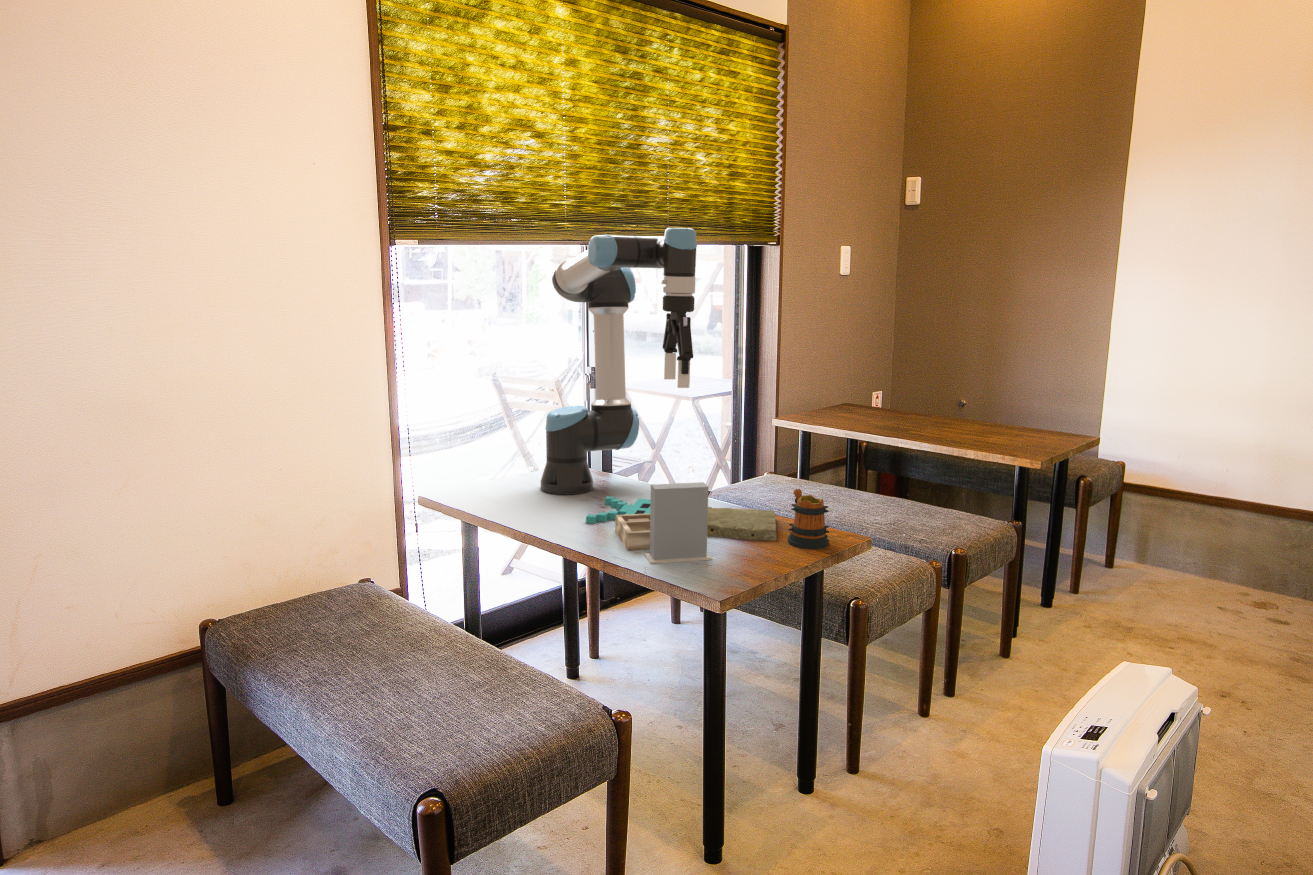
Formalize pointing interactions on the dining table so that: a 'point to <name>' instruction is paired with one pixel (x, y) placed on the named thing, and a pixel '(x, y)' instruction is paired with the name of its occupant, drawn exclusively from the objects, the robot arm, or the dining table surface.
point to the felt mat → (676, 559)
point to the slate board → (678, 520)
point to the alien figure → (638, 508)
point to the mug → (808, 523)
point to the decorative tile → (741, 523)
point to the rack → (633, 531)
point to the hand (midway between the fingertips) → (676, 383)
